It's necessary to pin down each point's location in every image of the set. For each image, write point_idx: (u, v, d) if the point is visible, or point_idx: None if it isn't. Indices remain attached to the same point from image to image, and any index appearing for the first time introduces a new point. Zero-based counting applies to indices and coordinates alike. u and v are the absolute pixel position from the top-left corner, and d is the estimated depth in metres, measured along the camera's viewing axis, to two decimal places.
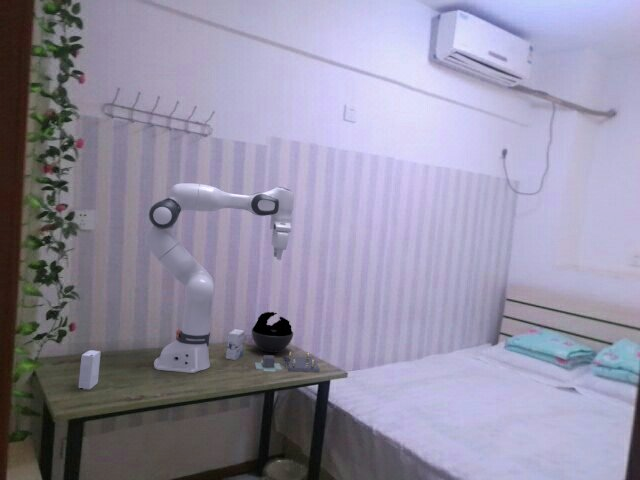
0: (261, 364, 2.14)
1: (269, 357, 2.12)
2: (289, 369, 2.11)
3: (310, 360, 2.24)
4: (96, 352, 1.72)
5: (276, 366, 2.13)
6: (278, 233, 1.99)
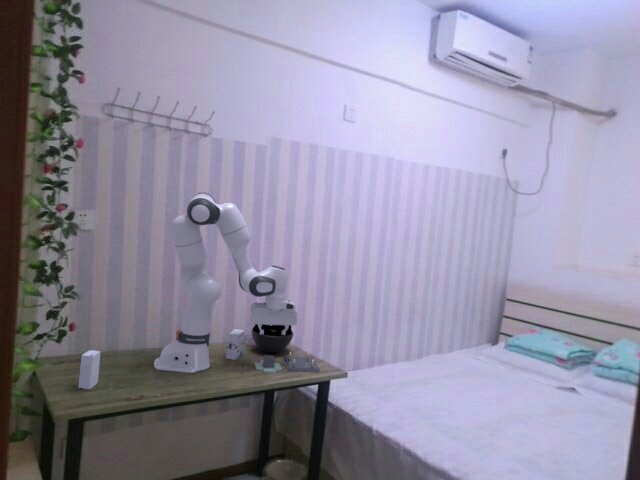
0: (261, 364, 2.14)
1: (269, 357, 2.12)
2: (289, 369, 2.11)
3: (310, 360, 2.24)
4: (96, 352, 1.72)
5: (276, 366, 2.13)
6: None
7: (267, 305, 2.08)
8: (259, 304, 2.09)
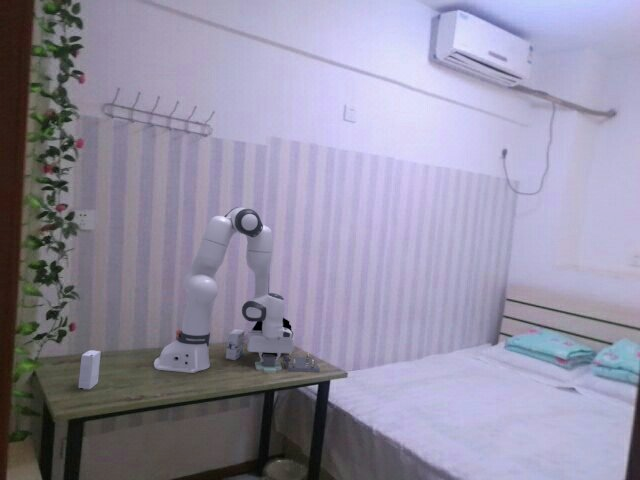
0: (261, 363, 2.14)
1: (269, 356, 2.12)
2: (289, 369, 2.11)
3: (310, 360, 2.24)
4: (96, 352, 1.72)
5: (276, 365, 2.13)
6: (292, 339, 2.12)
7: (264, 333, 2.09)
8: (256, 332, 2.10)
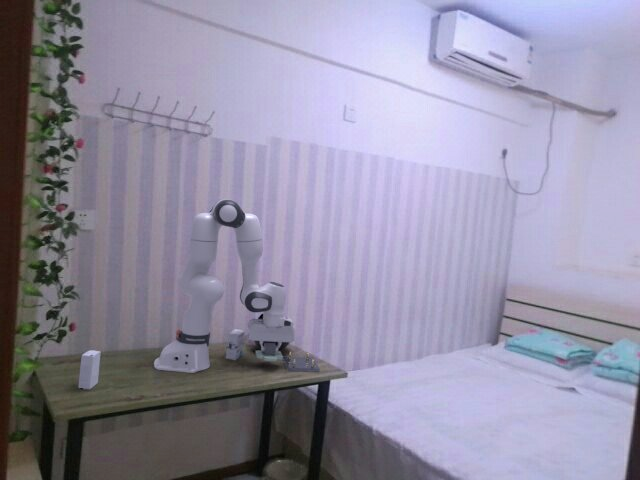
0: (262, 352, 2.13)
1: (270, 345, 2.12)
2: (289, 369, 2.11)
3: (310, 360, 2.24)
4: (96, 352, 1.72)
5: (277, 354, 2.13)
6: (293, 328, 2.12)
7: (265, 322, 2.09)
8: (257, 320, 2.10)
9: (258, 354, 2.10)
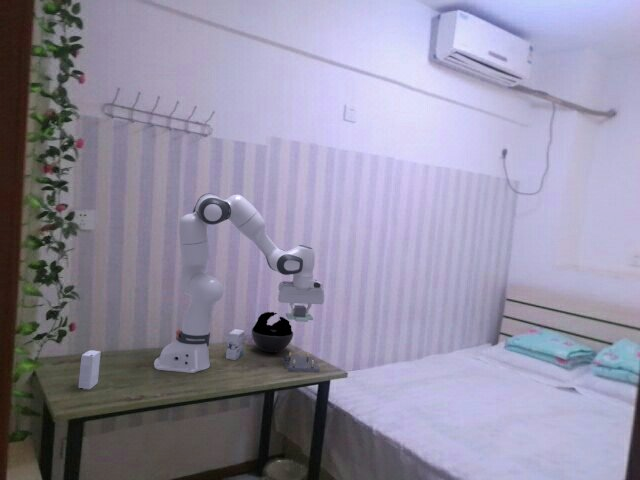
0: (292, 314, 2.17)
1: (300, 307, 2.15)
2: (289, 369, 2.11)
3: (310, 360, 2.24)
4: (96, 352, 1.72)
5: (307, 316, 2.16)
6: (322, 290, 2.16)
7: (295, 284, 2.12)
8: (287, 283, 2.13)
9: (289, 316, 2.13)
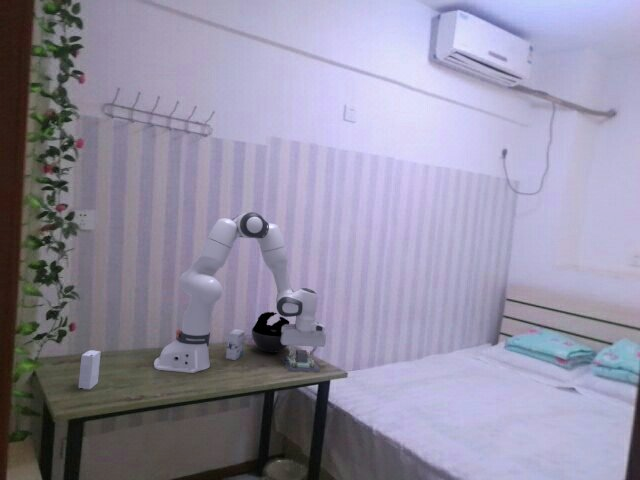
0: (294, 358, 2.20)
1: (302, 352, 2.18)
2: (289, 369, 2.11)
3: None
4: (96, 352, 1.72)
5: (308, 361, 2.19)
6: (324, 333, 2.19)
7: (297, 327, 2.15)
8: (290, 325, 2.16)
9: (290, 361, 2.16)
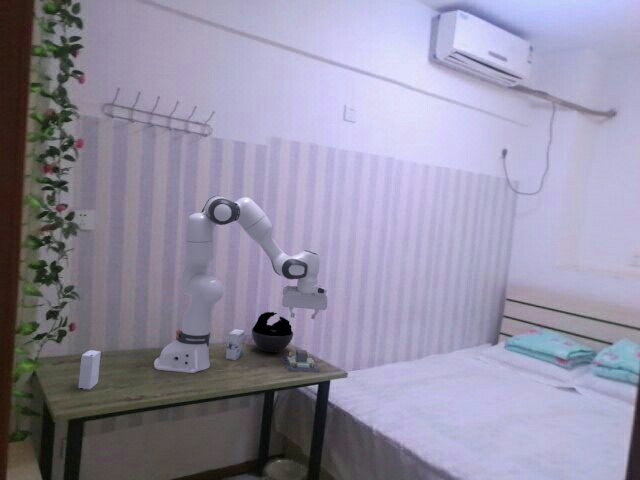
0: (294, 358, 2.20)
1: (302, 352, 2.18)
2: (289, 369, 2.11)
3: None
4: (96, 352, 1.72)
5: (308, 361, 2.19)
6: (326, 296, 2.17)
7: (299, 289, 2.14)
8: (291, 287, 2.15)
9: (290, 361, 2.16)
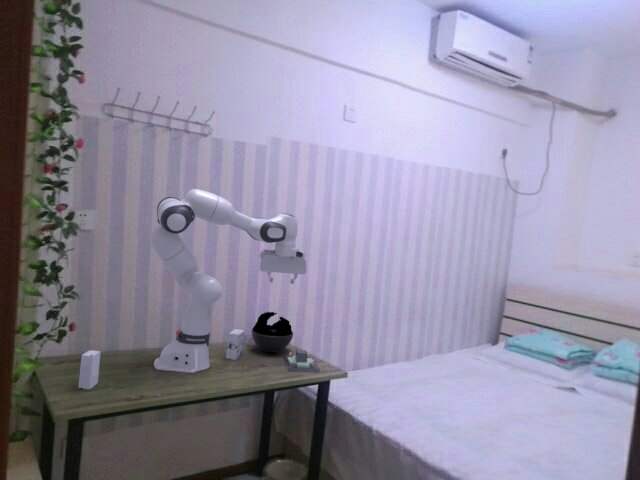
0: (294, 358, 2.20)
1: (302, 352, 2.18)
2: (289, 369, 2.11)
3: None
4: (96, 352, 1.72)
5: (308, 361, 2.19)
6: None
7: (277, 252, 2.08)
8: (269, 251, 2.09)
9: (290, 361, 2.16)
